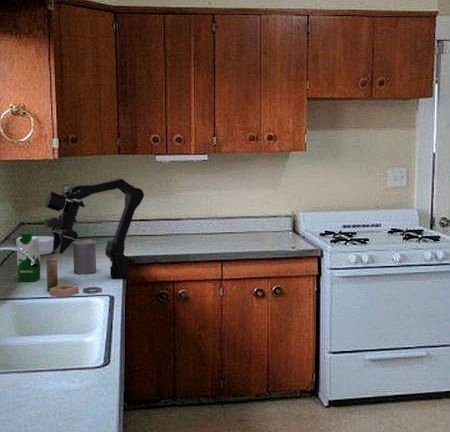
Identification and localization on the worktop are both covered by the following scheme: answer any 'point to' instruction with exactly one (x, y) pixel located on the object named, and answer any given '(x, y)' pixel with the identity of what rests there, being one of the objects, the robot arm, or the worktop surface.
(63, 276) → the worktop surface
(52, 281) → the peg
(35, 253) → the milk carton
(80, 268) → the pillar candle
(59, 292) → the collar
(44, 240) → the paper bowls
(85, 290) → the washer
